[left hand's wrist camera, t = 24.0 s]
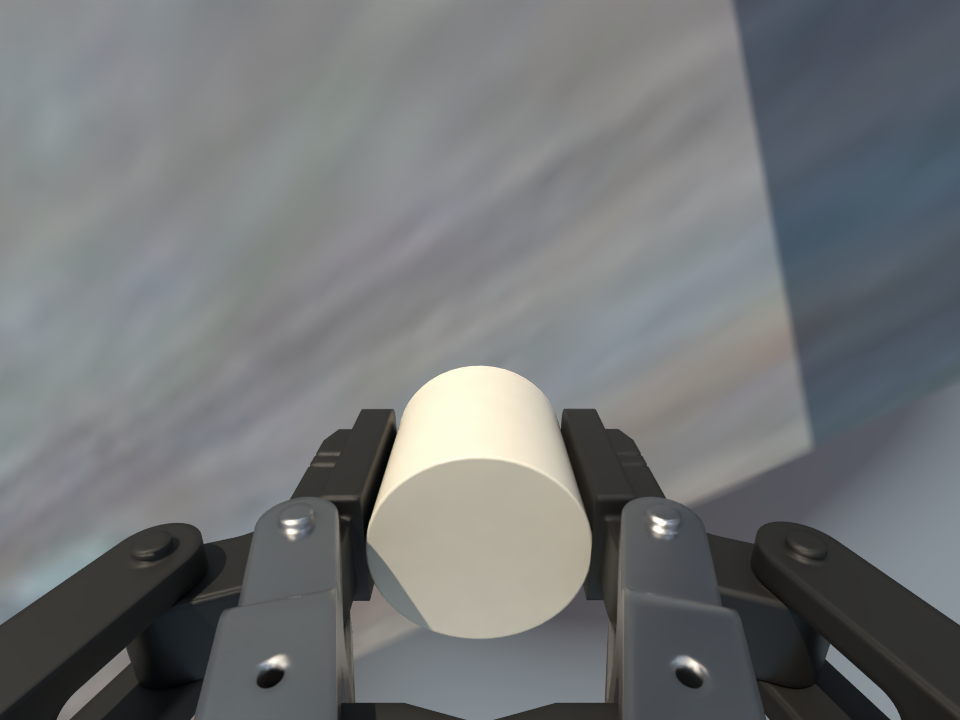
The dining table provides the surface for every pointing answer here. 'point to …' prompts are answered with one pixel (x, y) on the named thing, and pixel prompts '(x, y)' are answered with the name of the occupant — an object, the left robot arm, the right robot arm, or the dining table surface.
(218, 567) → the left robot arm
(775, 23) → the dining table surface
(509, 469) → the cream short cylinder
